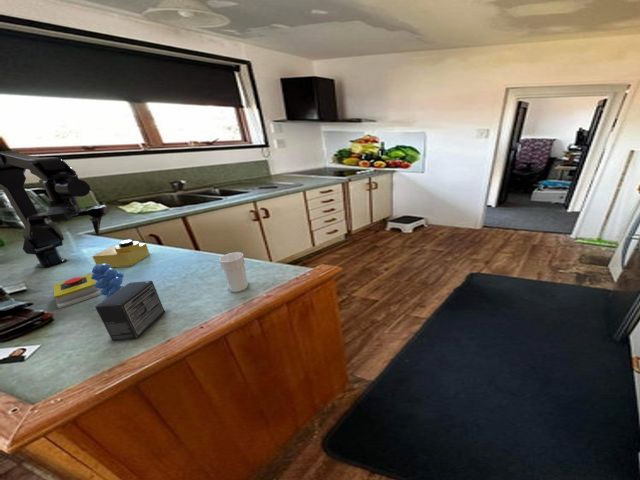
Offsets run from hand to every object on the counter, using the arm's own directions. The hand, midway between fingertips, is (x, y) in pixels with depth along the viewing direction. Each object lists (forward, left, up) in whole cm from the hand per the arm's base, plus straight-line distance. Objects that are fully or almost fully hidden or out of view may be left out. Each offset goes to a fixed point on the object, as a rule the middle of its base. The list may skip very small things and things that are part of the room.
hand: (80, 237), depth 98 cm
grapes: (+31, -8, -13) cm, 35 cm away
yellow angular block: (+4, +8, -13) cm, 16 cm away
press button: (+7, +9, -6) cm, 13 cm away
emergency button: (+16, -11, -13) cm, 24 cm away
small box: (+54, -15, -13) cm, 58 cm away
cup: (+65, +7, -13) cm, 67 cm away
